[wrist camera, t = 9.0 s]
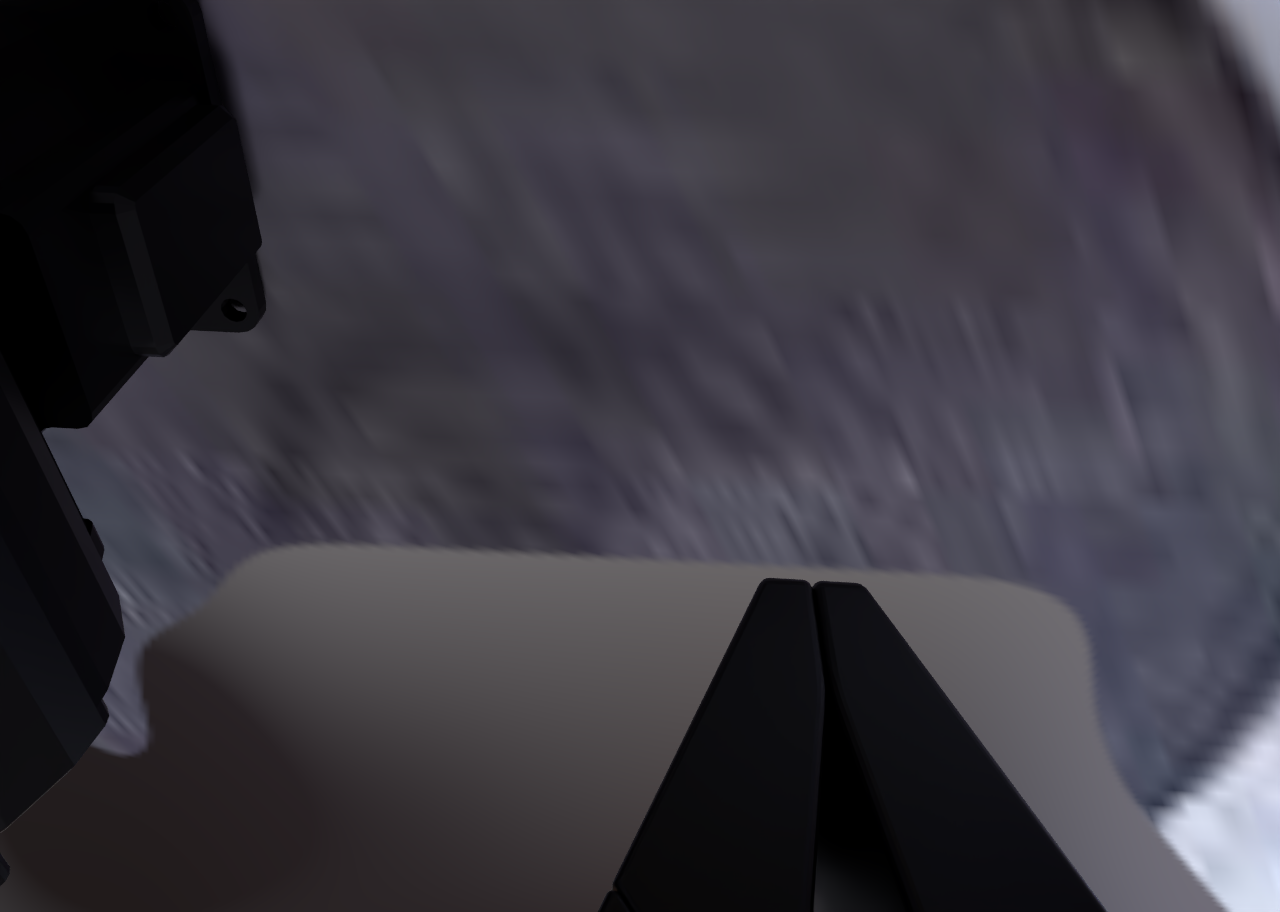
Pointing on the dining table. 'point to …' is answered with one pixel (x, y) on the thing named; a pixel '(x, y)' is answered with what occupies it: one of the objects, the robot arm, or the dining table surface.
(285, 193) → the dining table surface
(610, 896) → the robot arm
